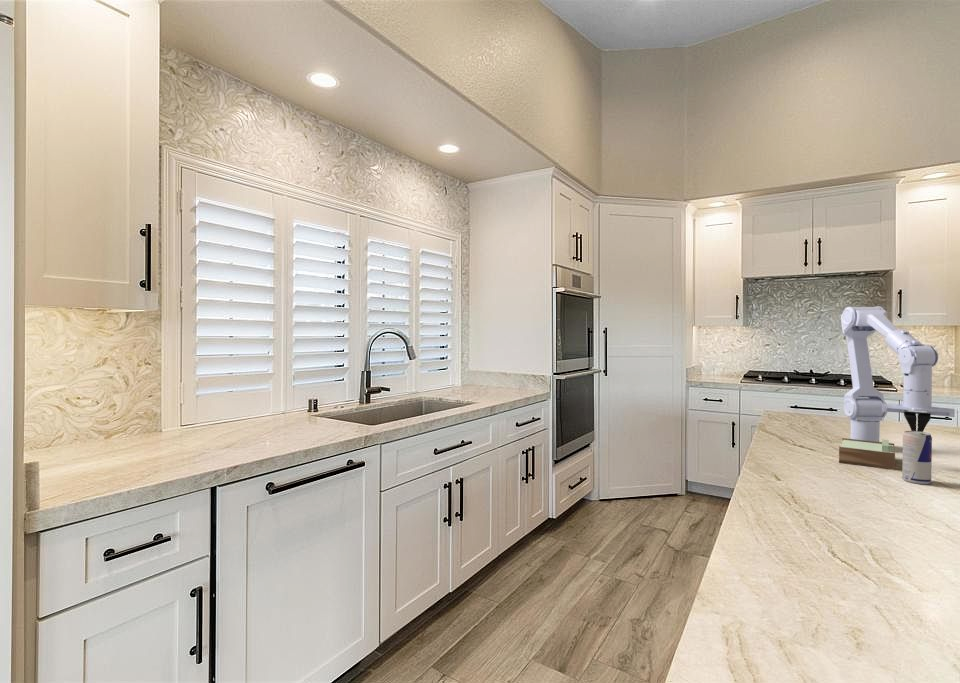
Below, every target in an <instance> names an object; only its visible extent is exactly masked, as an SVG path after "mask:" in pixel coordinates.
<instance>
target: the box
mask: <svg viewBox="0 0 960 683" xmlns="http://www.w3.org/2000/svg"><path fill="white" fill-rule="evenodd" d="M843 440H851V441H860V442H869V443H878V444H882V441H879V442H875V441H865V440H856V439H850V438H845V437H843V438H842V439H841V441H843ZM889 445H893V446H894V447H895V443H892V442H889ZM838 463H840V464H847V465H852V466H853V465H855V466H863V467H868V468H869V467H870V468H876V469H883V470H884V469H885V470H892V471H895V470H896V452H895V449H894V453H890V452H881V451H873V450H864V449H855V448H847V447H841V446H839V447H838Z"/></svg>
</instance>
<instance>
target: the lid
mask: <svg viewBox="0 0 960 683" xmlns="http://www.w3.org/2000/svg"><path fill="white" fill-rule="evenodd" d="M841 441H842V440H841ZM881 442H882V444H878V443H869V442H860V441H851V440H843V441H842V442H841V444H840V447H847V448H855V449H864V450H873V451H881V452H890V453H894V450H895V445H894V446H893V445H889V443H890V440H889V439H884V438H883V439H882V440H881Z"/></svg>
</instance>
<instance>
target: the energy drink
mask: <svg viewBox="0 0 960 683" xmlns="http://www.w3.org/2000/svg"><path fill="white" fill-rule="evenodd" d="M932 450H933V437H932V435H931V433H929V432H927V431H923V432H920V431H917V430H916V431H911V430H904V431H903V434H902V469H901V470H902V471H901V472H902V473H901V474H902V477H901V479H903V481H905V482H907V483H911V484H917V485H930V484H931V483H932V465H933V464H932V463H933V462H932V460H933V459H932V458H933V451H932Z"/></svg>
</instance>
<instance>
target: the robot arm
mask: <svg viewBox="0 0 960 683" xmlns="http://www.w3.org/2000/svg"><path fill="white" fill-rule="evenodd" d="M840 321H841V323H840V324H841V329H842V334H843V335H844V336H845V339H846V346H847V355H848V363H849V369H850V375H851V384H852V388H851V389H850V390H849V391H848V392H847V391H846V393H845V394H843V395H844V396H843V406H842V409H843V412H844V414H845V415H846V416H847V418H848V419H850V424H849V425H850V431H849V432H850V434H849V439H856V440H865V441H875V442H880V429H881V426H880V424H881V422H882V421H883V419H884V418H885V417H886V416H887V414H888V413H901V414H903V417H904V418H905V420H906V422H907V424H908V426H909V428H910V431H920V432H925V431H924V430H925V429H926V426H927V425H928V423H929V422H930V421H931V418H932V417H931V416H939V417H940V416H943V417H948V418H949V417H950V418H955V416H956V415H955V414H956V412H955V411H956V410H955V408H949V407H948V408H947V407H940V406H939V407H937V406H932V405H933V404H932V398H933V397H932V396H933V394H932V392H933V390H932V389H933V387H932V386H933V385H932V383H933V367H935V366H936V365H937V363H938V360H939V353H938V351H937V349H936V348H935V346H934V345H928V344H926V343H925V344H923V343H921V342H920V340H919V339H916V338H915V337H914V336H913V335H912V334H911V333H910V331H909V330H908V329H898V327H896V326H895V325H894V323H892V322H891V321H890V319H889V318H888V312H887V311H886V310H885V309H884V308H883V307H882V306H847V307H845V308H844V310H843V311H842V313H841V316H840ZM876 332H878V333H879V334H881V335H882V336H883V337H884V338H885V341H884V342H885V344H886V345H887V346H888V347H889V348H890V349H891V350H892V351H893V352H894V353H896V355H897V360H898V363H899V365H900V371H901V373H902V374H903V386H902V387H903V391H902V392H903V394H902V395H903V396H902V398H903V399H902V401H903V402H902V404H888V403H886V401H885V398H884V397H885V396H884V393H882V392H881V391H879V390H878V389H877V388H875V387H874V381H873V375H872V374H873V372H872V367H871V366H872V365H871V359H870V352H869V345H868V337H869V336H871V335H873V334H875V333H876Z"/></svg>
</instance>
